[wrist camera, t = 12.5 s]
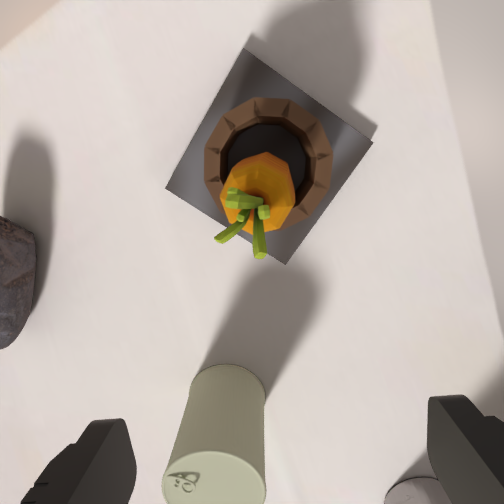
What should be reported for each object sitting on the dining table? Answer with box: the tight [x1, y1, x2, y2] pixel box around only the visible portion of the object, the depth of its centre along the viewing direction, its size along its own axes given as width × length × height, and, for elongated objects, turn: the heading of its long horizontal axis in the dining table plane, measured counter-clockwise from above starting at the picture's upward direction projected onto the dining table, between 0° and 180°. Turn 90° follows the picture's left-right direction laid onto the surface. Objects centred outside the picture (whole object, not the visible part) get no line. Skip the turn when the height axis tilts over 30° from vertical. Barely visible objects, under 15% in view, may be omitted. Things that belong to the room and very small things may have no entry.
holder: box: [165, 48, 373, 265], centre depth 27 cm, size 14×14×7 cm
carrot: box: [214, 152, 295, 259], centre depth 23 cm, size 5×5×15 cm
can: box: [162, 364, 266, 504], centre depth 33 cm, size 9×9×12 cm
